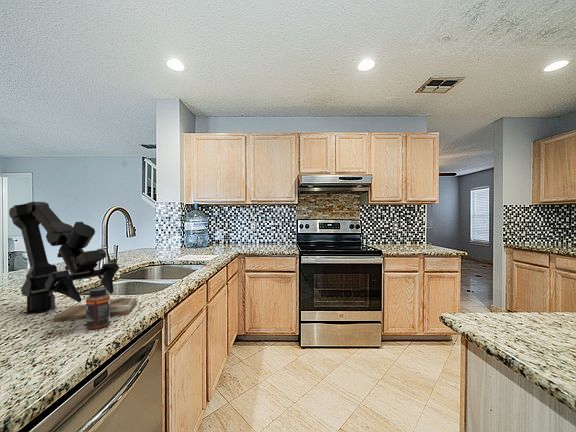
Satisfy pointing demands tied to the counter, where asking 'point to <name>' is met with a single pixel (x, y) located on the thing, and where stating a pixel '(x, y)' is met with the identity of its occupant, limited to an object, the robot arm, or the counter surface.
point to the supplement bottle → (98, 308)
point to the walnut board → (116, 309)
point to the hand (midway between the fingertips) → (97, 296)
